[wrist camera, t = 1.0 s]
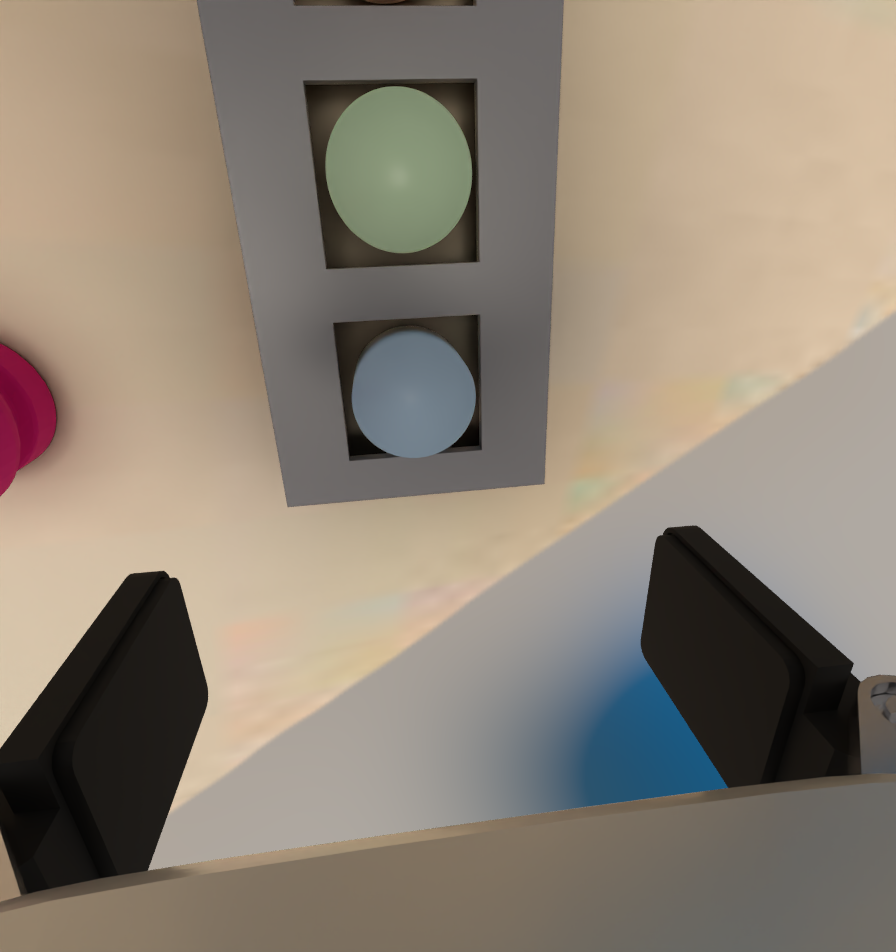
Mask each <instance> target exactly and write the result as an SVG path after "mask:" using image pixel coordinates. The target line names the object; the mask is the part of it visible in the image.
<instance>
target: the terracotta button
mask: <svg viewBox="0 0 896 952" xmlns="http://www.w3.org/2000/svg"><path fill="white" fill-rule="evenodd" d="M365 1H368V2H372V3H379V4H390V3H397V2H400V1H404V0H365Z"/></svg>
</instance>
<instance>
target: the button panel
mask: <svg viewBox="0 0 896 952" xmlns="http://www.w3.org/2000/svg"><path fill="white" fill-rule="evenodd" d="M563 4H564V0H473V6H295V0H197V5H198V10H199V16H200V21H201V27H202V33H203V38H204V44H205V49H206V55H207V60H208V66H209V72H210V77H211V83H212V88H213V94H214V99H215V105H216V111H217V116H218V122H219V127H220V133H221V138H222V144H223V150H224V155H225V161H226V166H227V172H228V177H229V183H230V188H231V194H232V200H233V205H234V211H235V216H236V222H237V227H238V233H239V239H240V244H241V250H242V255H243V261H244V266H245V272H246V278H247V283H248V289H249V294H250V300H251V305H252V311H253V317H254V322H255V328H256V333H257V339H258V344H259V350H260V356H261V361H262V367H263V372H264V378H265V383H266V389H267V394H268V400H269V406H270V411H271V417H272V422H273V428H274V433H275V439H276V445H277V450H278V456H279V461H280V467H281V472H282V478H283V484H284V489H285V495H286V500H287V506H288V507H294V506H306V505H317V504H328V503H339V502H350V501H361V500H372V499H383V498H395V497H406V496H417V495H428V494H439V493H450V492H461V491H472V490H483V489H495V488H506V487H517V486H528V485H539V484H544V479H545V454H546V429H547V404H548V379H549V354H550V329H551V304H552V279H553V254H554V229H555V204H556V179H557V154H558V129H559V104H560V79H561V54H562V29H563ZM410 83H475V154H476V226H477V262H456V263H435V264H414V265H392V266H371V267H350V268H328V269H327V263H326V255H325V247H324V239H323V230H322V222H321V214H320V205H319V197H318V189H317V181H316V172H315V164H314V156H313V148H312V139H311V131H310V123H309V115H308V106H307V98H306V90H305V85H334V84H410ZM462 315H478V368H479V440H480V446H468V447H456V448H447V449H445V450H443V451H441V452H439V453H436V454H434V455H430V456H427V457H421V458H406V457H400V456H395V455H393V454H390V453H382V454H370V455H357V456H350V453H349V445H348V437H347V429H346V420H345V412H344V404H343V396H342V387H341V379H340V371H339V363H338V354H337V346H336V338H335V329H334V323H339V322H356V321H374V320H391V319H409V318H427V317H444V316H462Z"/></svg>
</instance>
